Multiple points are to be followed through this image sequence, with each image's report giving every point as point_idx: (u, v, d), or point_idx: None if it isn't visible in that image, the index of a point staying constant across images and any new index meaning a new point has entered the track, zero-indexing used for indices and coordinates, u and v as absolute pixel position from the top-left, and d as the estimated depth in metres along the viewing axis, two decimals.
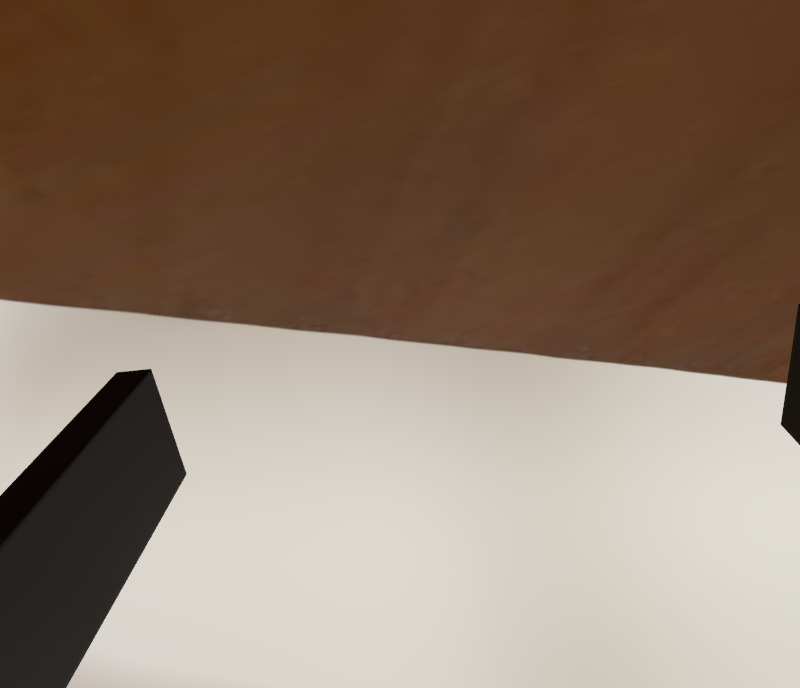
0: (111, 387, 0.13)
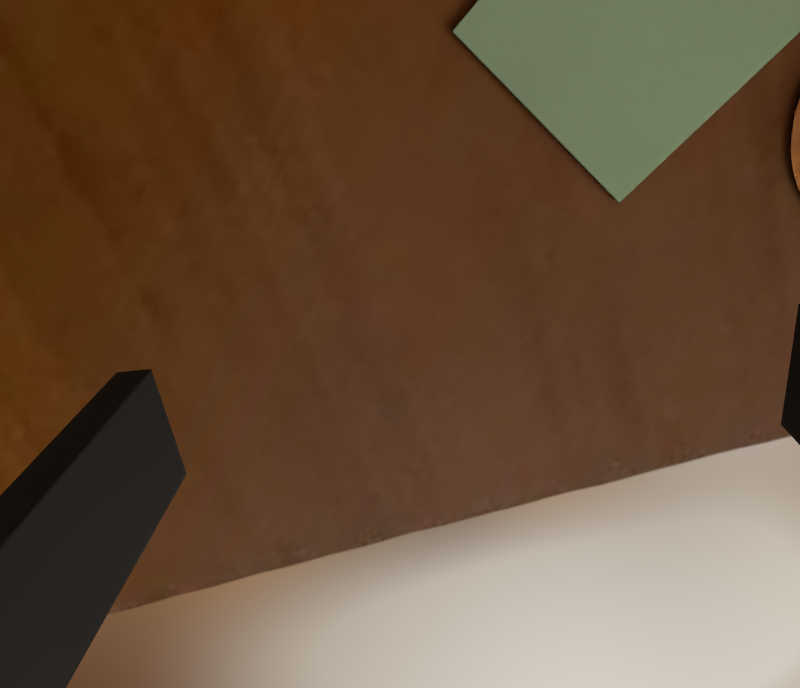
0: (111, 387, 0.13)
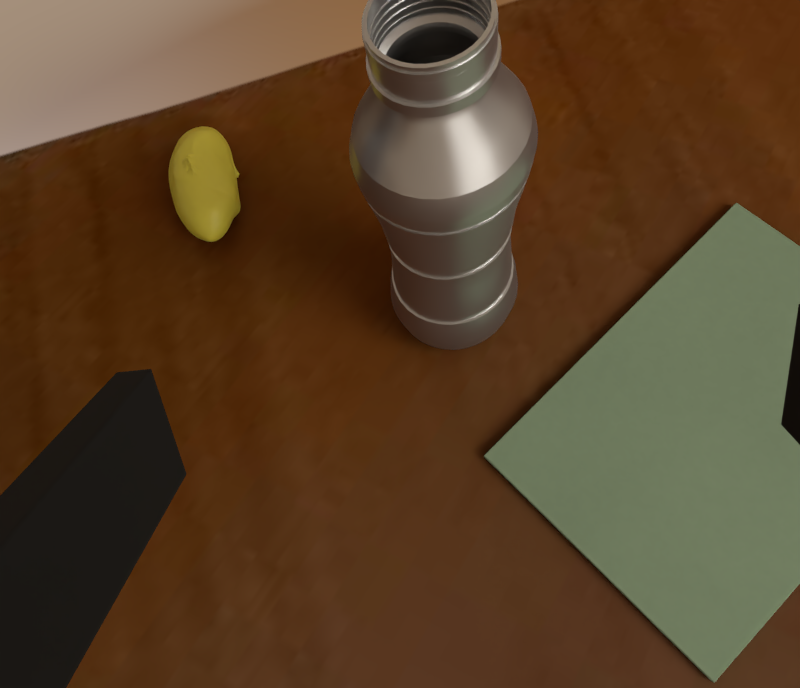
0: (111, 388, 0.13)
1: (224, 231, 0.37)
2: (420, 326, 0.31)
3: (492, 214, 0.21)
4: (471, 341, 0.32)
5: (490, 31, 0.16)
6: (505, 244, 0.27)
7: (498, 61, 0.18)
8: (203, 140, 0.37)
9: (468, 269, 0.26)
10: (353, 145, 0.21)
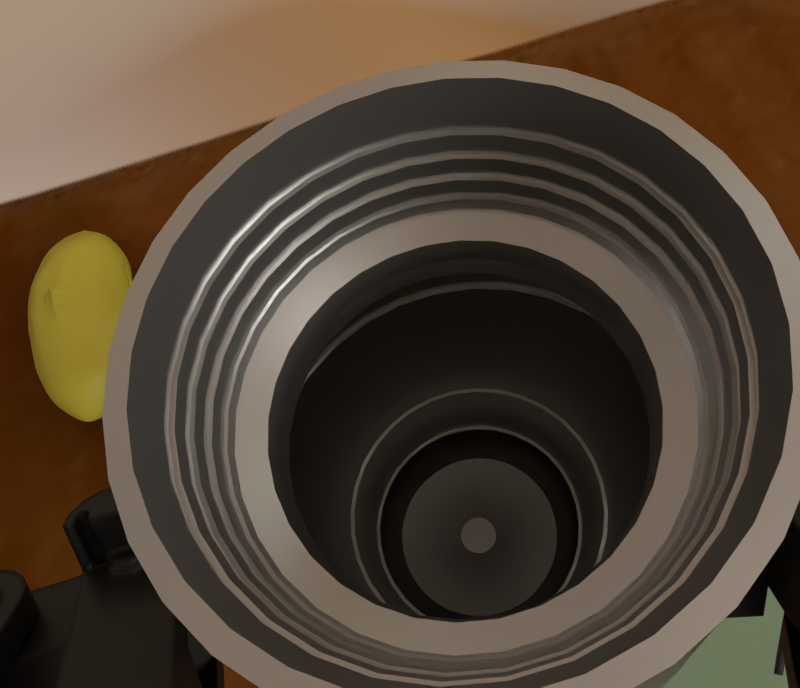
0: None
1: None
2: None
3: None
4: None
5: None
6: None
7: None
8: (78, 259, 0.24)
9: None
10: None
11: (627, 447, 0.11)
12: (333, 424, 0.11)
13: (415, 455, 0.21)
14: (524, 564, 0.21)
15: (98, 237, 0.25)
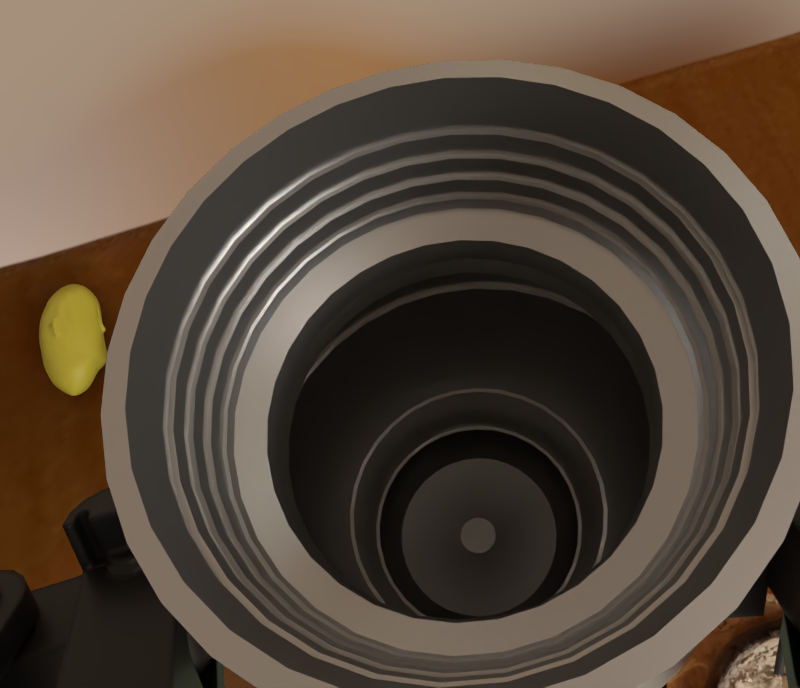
0: None
1: (87, 386, 0.41)
2: None
3: None
4: None
5: None
6: None
7: None
8: (68, 302, 0.41)
9: None
10: None
11: (627, 447, 0.11)
12: (332, 424, 0.11)
13: (415, 455, 0.21)
14: (523, 564, 0.21)
15: (80, 288, 0.42)
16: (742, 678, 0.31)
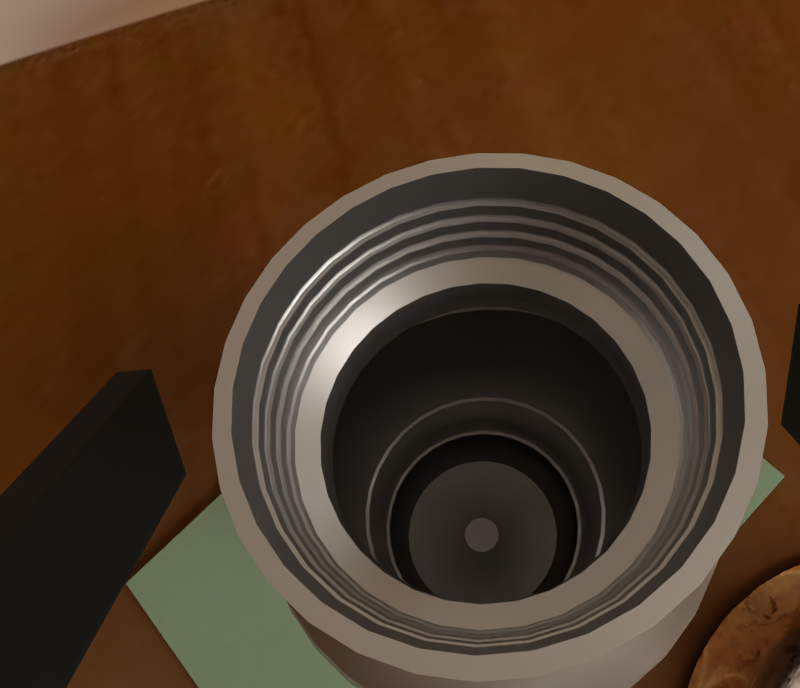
0: (111, 387, 0.13)
1: None
2: None
3: None
4: None
5: (751, 492, 0.04)
6: None
7: None
8: None
9: None
10: None
11: (623, 454, 0.12)
12: (352, 431, 0.12)
13: (421, 458, 0.22)
14: (525, 562, 0.22)
15: None
16: None
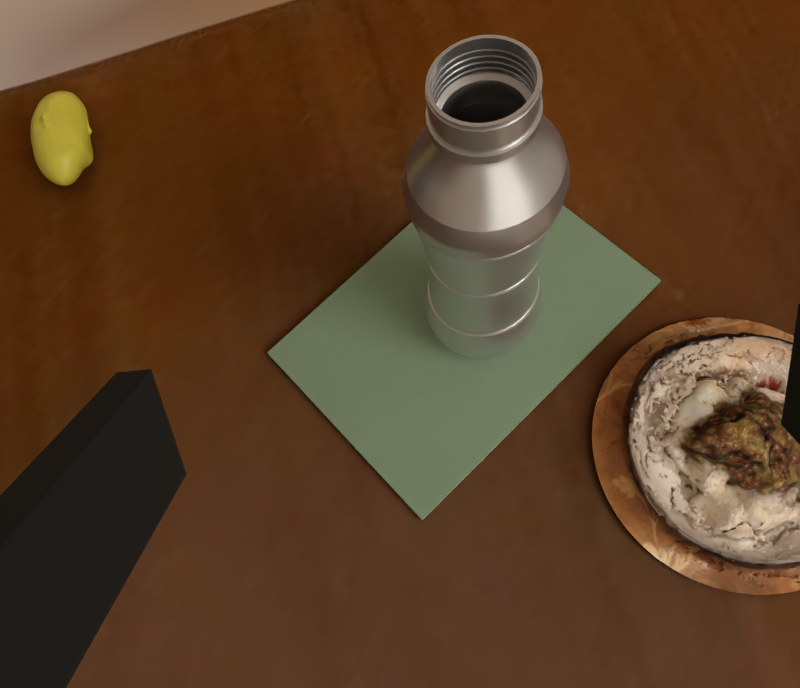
0: (111, 387, 0.13)
1: (74, 176, 0.44)
2: (454, 338, 0.34)
3: (529, 243, 0.24)
4: (500, 351, 0.35)
5: (536, 95, 0.19)
6: (535, 265, 0.29)
7: (540, 116, 0.21)
8: (57, 101, 0.45)
9: (503, 288, 0.29)
10: (408, 183, 0.24)
11: None
12: None
13: None
14: None
15: (68, 92, 0.46)
16: (662, 384, 0.35)
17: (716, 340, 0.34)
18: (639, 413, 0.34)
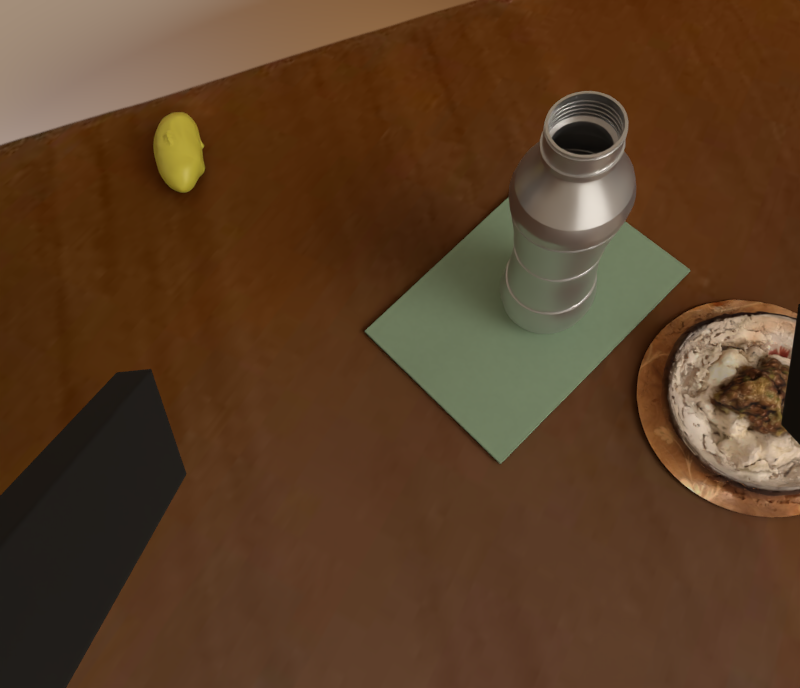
0: (111, 388, 0.13)
1: (192, 185, 0.53)
2: (527, 316, 0.42)
3: (606, 239, 0.33)
4: (563, 327, 0.43)
5: (625, 135, 0.28)
6: None
7: None
8: (177, 121, 0.53)
9: (576, 274, 0.37)
10: (517, 195, 0.32)
11: None
12: None
13: None
14: None
15: (184, 113, 0.54)
16: None
17: (737, 317, 0.43)
18: (676, 376, 0.42)
